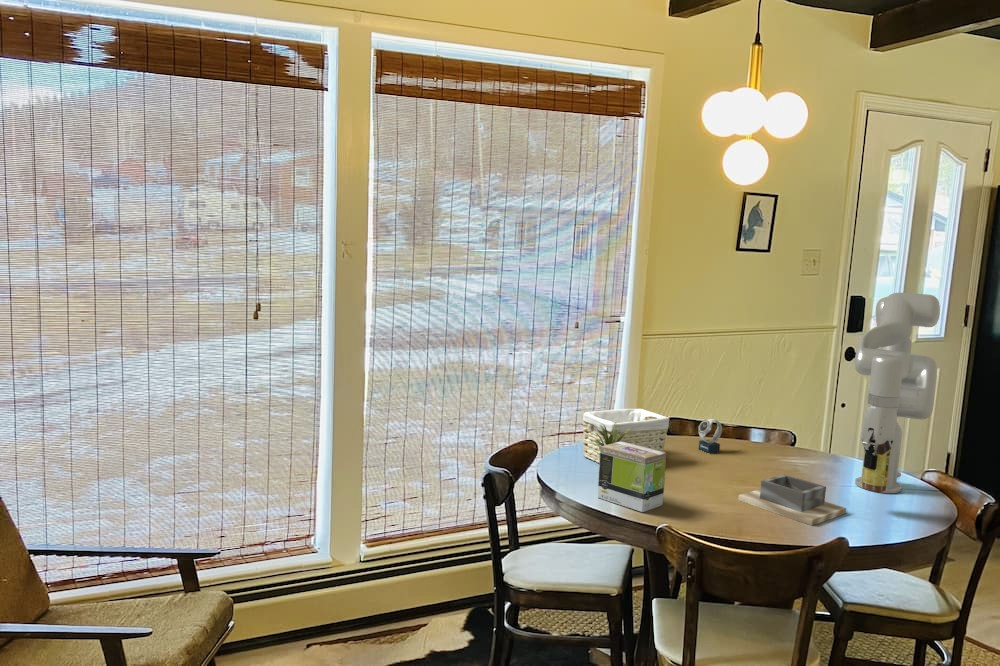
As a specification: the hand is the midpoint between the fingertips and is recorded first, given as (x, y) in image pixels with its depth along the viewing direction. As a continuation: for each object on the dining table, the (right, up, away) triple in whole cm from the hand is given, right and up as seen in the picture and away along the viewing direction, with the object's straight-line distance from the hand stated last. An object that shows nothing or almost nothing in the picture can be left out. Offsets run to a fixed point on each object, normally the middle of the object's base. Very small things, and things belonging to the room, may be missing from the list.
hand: (876, 465), depth 217 cm
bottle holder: (-22, -12, +2) cm, 25 cm away
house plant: (-70, -7, +22) cm, 74 cm away
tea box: (-67, -10, 0) cm, 67 cm away
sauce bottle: (0, -7, +1) cm, 7 cm away
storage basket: (-62, -5, +40) cm, 74 cm away
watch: (-31, -4, +54) cm, 63 cm away
